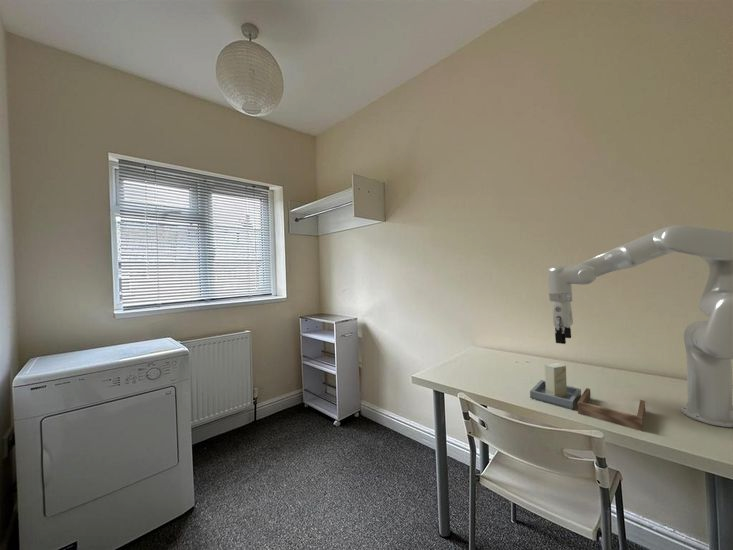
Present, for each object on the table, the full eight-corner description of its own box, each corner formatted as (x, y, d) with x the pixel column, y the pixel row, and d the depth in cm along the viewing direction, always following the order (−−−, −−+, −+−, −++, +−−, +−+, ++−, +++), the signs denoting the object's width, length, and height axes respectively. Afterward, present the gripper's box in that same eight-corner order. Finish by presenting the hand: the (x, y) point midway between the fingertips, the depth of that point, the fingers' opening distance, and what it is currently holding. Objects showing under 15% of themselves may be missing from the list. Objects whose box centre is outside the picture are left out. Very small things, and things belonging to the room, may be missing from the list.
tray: (581, 396, 113) (581, 388, 113) (572, 410, 104) (572, 401, 104) (541, 386, 123) (541, 379, 123) (530, 398, 114) (529, 391, 114)
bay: (645, 412, 100) (645, 400, 99) (642, 431, 89) (641, 418, 89) (586, 398, 112) (586, 387, 111) (577, 413, 101) (577, 402, 101)
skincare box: (555, 399, 111) (554, 367, 110) (545, 394, 115) (544, 364, 115) (567, 396, 112) (566, 365, 112) (557, 391, 117) (556, 361, 116)
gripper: (567, 300, 105) (570, 347, 105) (576, 295, 117) (579, 336, 117) (543, 300, 110) (546, 344, 111) (555, 294, 122) (557, 334, 123)
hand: (563, 340), depth 114 cm, fingers open, 9 cm apart
